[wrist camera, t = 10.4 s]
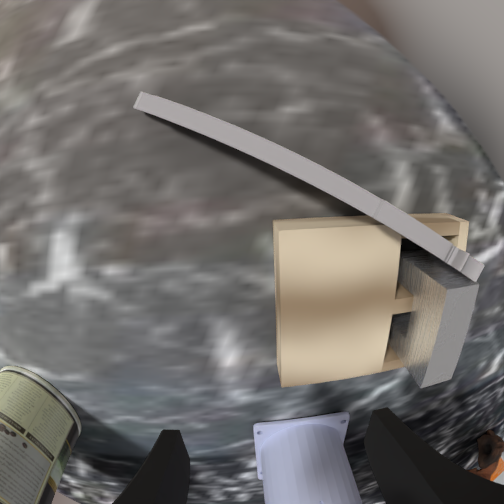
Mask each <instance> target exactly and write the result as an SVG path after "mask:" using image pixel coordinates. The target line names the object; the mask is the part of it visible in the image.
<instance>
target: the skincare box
mask: <svg viewBox="0 0 504 504" xmlns="http://www.w3.org/2000/svg"><path fill="white" fill-rule="evenodd" d="M490 481H493V482H496V483H499V484H503V485H504V452H502V455H501V457H500V459H499V462H498V466H497V468H496V470H495V471H494V473H493V474H492V475H491V478H490Z"/></svg>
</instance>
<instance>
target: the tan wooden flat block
mask: <svg viewBox="0 0 504 504" xmlns="http://www.w3.org/2000/svg"><path fill="white" fill-rule="evenodd" d="M408 215H410V216H411V217H413V218H414V219H416V220H417V221H419V222H421V223H422V224H424V225H425V226H427V227H428V228H430V229H431V230H433V231H434V232H436V233H437V234H439V235H440V236H442V237H443V238H445V239H446V240H448V241H449V242H451V243H452V244H453V245H454V246H455V247H457V248H459V249H461V250H463V251H466V243H467V235H468V226H469V222H468V221H466V220H463V219H461V218H458V217H455V216H453V215H450V214H447V213H435V214H408ZM401 238H406V237H404V236H403V235H401V234H399V233H398V232H396V231H394V230H393V229H391V228H389V227H387V226H386V225H384V224H382V223H380V222H379V221H377V220H375V219H373V218H372V217H370V216H368V215H366V216H341V217H320V218H301V219H283V220H273V239H274V267H275V299H276V338H277V366H278V372H279V377H280V382H281V387H289V386H298V385H306V384H314V383H321V382H328V381H334V380H341V379H347V378H352V377H358V376H363V375H369V374H374V373H379V372H383V371H388V370H393V369H397V368H401V367H405V366H404V364H403V363H402V362H401V360H400V359H399V357H398V356H397V355H396V353H395V352H394V350H393V349H392V348H391V346H390V345H389V344H388V337H389V331H390V326H391V320H392V315H393V314H399V313H405V312H410V311H411V309H412V304H413V298H414V295H413V294H411V293H410V292H409V291H408V290H407V289H406V288H405V287H403V286H402V285H401V284H400V283H399V282H398V281H397V277H398V268H399V259H400V248H401ZM435 257H436V256H435Z"/></svg>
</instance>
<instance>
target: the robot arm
mask: <svg viewBox="0 0 504 504" xmlns="http://www.w3.org/2000/svg"><path fill="white" fill-rule="evenodd" d="M349 418H350V415H349V413H348V412H346V411H345V412H339V413H333V414H327V415H321V416H314V417H307V418H299V419H291V420H282V421H272V422H261V423H256V424H255V425H254V426H253V429H254V440H255V450H256V461H257V471H258V478H259V479H261V480H263V487H264V498H265V504H362V501H361V498H360V495H359V492H358V489H357V486H356V482H355V479H354V476H353V473H352V470H351V467H350V464H349V461H348V458H347V455H346V452H345V449H344V446H343V443H344V439H345V435H346V431H347V427H348V422H349ZM364 445H365V449H366V453H367V457H368V460H369V464H370V466H371V468H372V471H373V473H374V476H375V478H376V480H377V483H378V485H379V488H380V490H381V492H382V495H383V497H384V499H385V502H386V504H504V485H503V484H499V483H496V482H493V481H490V480H487V479H485V478H483V477H480V476H478V475H476V474H474V473H471V472H469V471H467V470H465V469H464V468H462V467H460V466H458V465H457V464H455V463H453V462H452V461H450V460H449V459H447V458H446V457H444V456H443V455H441V454H440V453H439V452H437V451H436V450H435V449H433V448H432V447H431V446H429V445H428V444H427V443H426V442H425V441H423V440H422V439H421V438H420V437H419V436H418V435H416V434H415V433H414V432H413V431H412V430H411V429H410V428H409V427H408V426H406V425H405V424H404V423H403V422H402V421H401V420H400V419H399V418H398V417H397V416H396V415H395V414H394V413H393V412H392V411H391V410H390V409H389V408H383V409H378V410H374V411H373V412H372V416H371V419H370V423H369V426H368V429H367V432H366V436H365V439H364ZM189 480H190V458H189V455H188V452H187V450H186V447H185V444H184V442H183V439H182V436H181V433H180V430H162V431H161V433H160V435H159V437H158V439H157V441H156V443H155V444H154V446H153V448H152V450H151V451H150V453H149V455H148V456H147V458H146V460H145V461H144V463H143V464H142V466H141V467H140V469H139V470H138V472H137V473H136V475H135V476H134V478H133V479H132V480H131V482H130V483H129V484H128V485H127V487H126V488H125V489H124V491H123V492H122V493H121V494H120V495H119V497H118V498H117V499H116V500H115V501H114V502H113V503H112V504H186V501H187V495H188V488H189Z"/></svg>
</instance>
